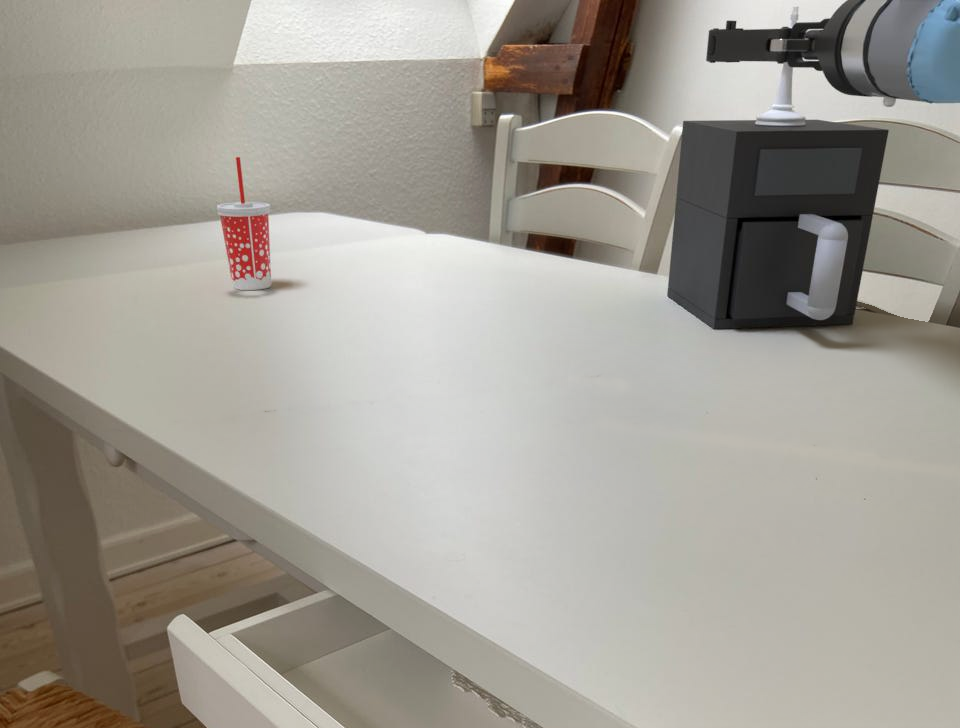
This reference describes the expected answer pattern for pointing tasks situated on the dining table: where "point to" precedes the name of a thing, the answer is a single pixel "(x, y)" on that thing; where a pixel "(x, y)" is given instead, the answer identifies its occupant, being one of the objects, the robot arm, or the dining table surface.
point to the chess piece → (783, 98)
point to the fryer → (764, 200)
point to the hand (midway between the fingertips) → (780, 45)
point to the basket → (793, 267)
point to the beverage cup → (247, 240)
